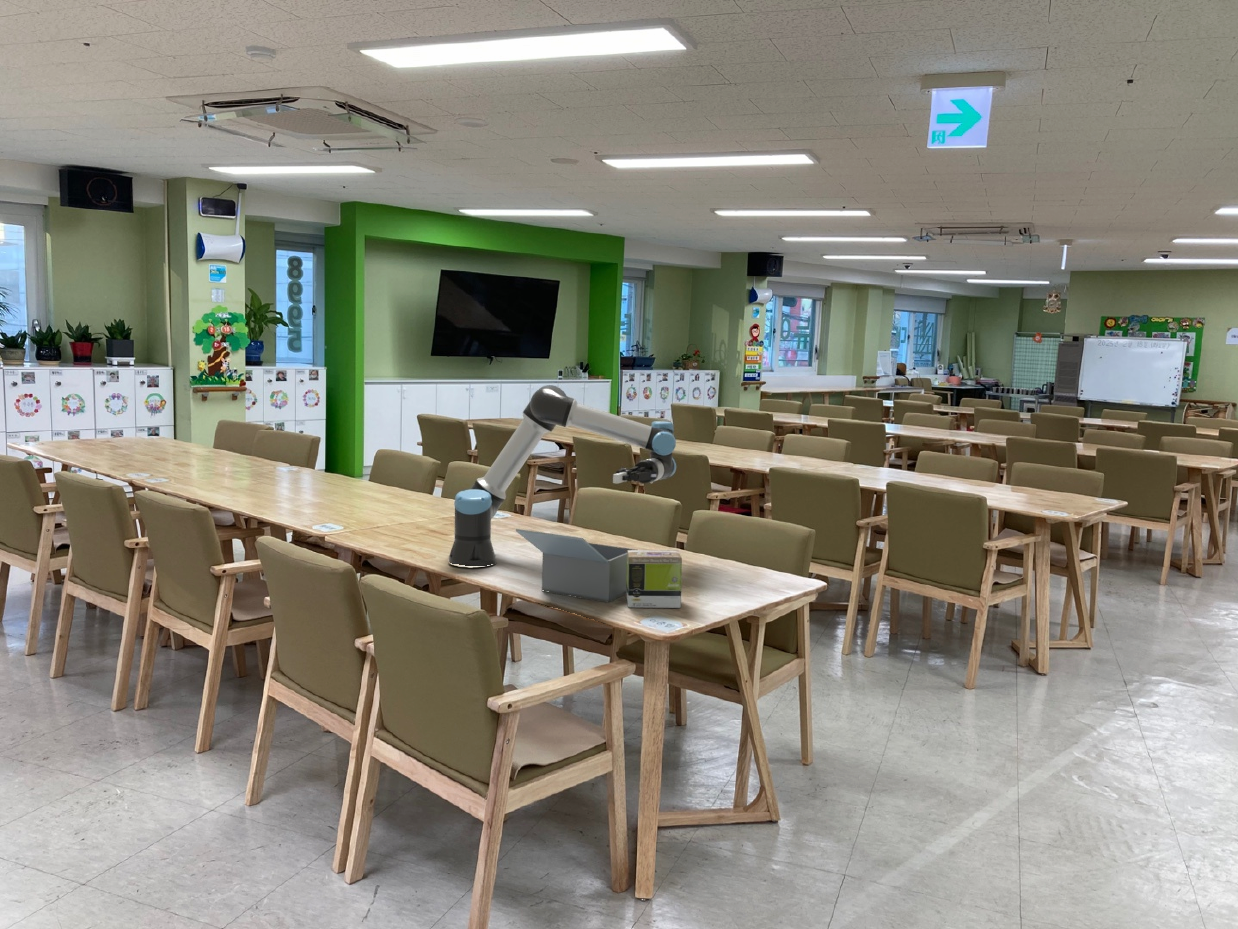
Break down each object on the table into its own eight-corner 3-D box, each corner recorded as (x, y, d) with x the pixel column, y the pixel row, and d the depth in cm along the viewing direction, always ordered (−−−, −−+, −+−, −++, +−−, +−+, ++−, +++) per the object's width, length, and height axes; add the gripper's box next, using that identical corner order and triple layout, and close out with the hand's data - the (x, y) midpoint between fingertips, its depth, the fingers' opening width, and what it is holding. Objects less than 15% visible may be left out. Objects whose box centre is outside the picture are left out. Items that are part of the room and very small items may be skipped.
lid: (544, 551, 276) (543, 553, 275) (516, 528, 261) (515, 530, 261) (608, 560, 266) (607, 562, 266) (582, 538, 252) (582, 540, 251)
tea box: (677, 599, 273) (679, 549, 271) (680, 609, 263) (683, 557, 261) (625, 598, 273) (627, 548, 271) (626, 608, 263) (628, 556, 261)
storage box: (541, 591, 277) (542, 551, 276) (572, 578, 293) (573, 540, 292) (608, 602, 268) (609, 561, 266) (636, 588, 283) (637, 549, 282)
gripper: (665, 484, 307) (633, 493, 287) (630, 480, 313) (595, 488, 292) (666, 461, 307) (634, 468, 286) (630, 457, 312) (596, 464, 291)
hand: (615, 478), depth 289 cm, fingers closed
